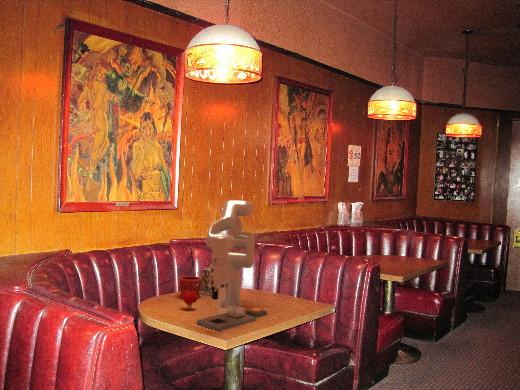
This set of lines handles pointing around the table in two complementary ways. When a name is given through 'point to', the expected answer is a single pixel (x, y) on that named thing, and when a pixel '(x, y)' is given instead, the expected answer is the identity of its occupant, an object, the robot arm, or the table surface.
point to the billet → (220, 293)
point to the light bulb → (189, 298)
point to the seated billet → (236, 312)
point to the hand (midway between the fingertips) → (218, 297)
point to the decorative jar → (205, 281)
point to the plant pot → (190, 284)
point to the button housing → (256, 313)
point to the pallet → (224, 321)
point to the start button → (256, 310)
